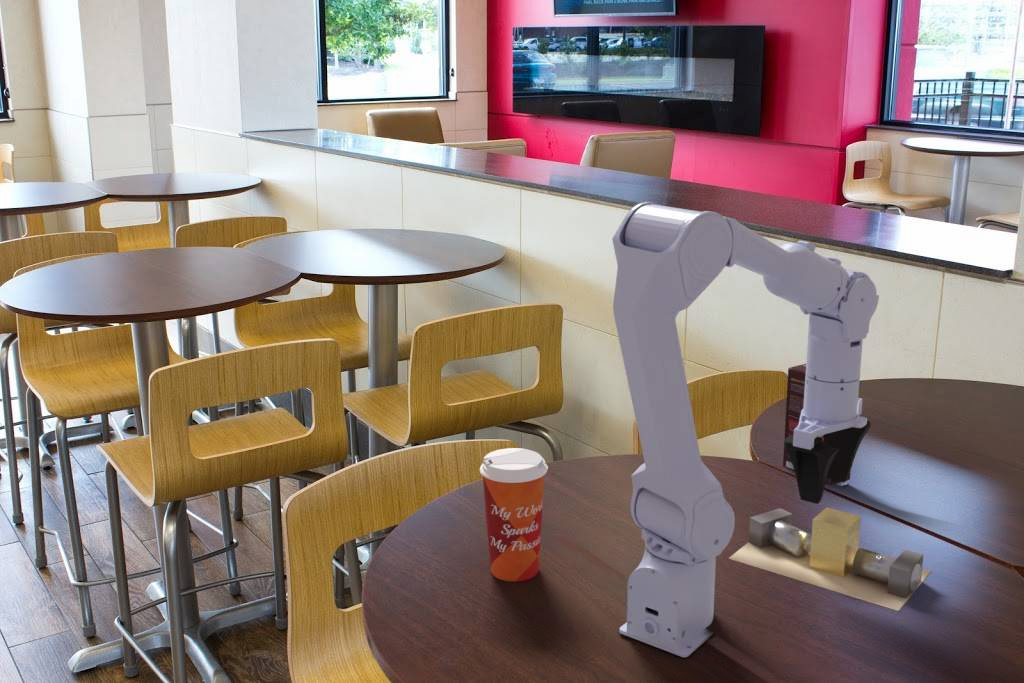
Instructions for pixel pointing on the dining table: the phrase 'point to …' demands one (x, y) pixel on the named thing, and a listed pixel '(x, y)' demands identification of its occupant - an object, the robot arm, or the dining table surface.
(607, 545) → the dining table surface
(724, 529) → the robot arm
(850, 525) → the yellow rectangular block
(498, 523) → the paper cup
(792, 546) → the shaft angled
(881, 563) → the shaft straight
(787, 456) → the supplement box
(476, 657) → the dining table surface
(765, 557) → the board
